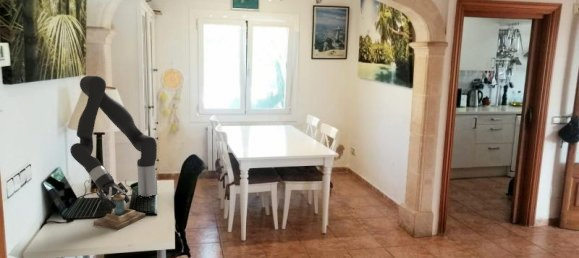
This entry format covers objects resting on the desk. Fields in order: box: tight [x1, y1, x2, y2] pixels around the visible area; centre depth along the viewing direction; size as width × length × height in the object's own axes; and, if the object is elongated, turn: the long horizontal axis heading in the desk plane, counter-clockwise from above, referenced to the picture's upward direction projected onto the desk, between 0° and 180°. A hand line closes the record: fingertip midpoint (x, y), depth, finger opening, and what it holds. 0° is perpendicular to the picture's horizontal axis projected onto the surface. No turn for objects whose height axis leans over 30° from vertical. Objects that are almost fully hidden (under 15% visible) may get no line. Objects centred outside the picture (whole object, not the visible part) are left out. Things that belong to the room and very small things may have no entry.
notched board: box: [93, 207, 146, 231], centre depth 209 cm, size 18×14×4 cm
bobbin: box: [112, 195, 125, 216], centre depth 209 cm, size 5×5×10 cm
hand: (121, 204), depth 208 cm, fingers open, 8 cm apart
